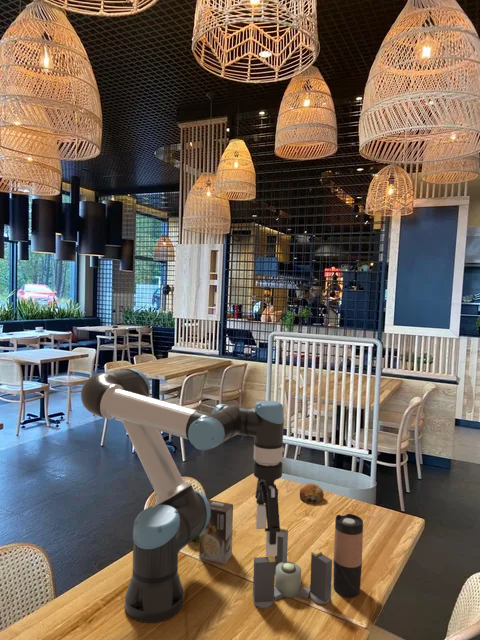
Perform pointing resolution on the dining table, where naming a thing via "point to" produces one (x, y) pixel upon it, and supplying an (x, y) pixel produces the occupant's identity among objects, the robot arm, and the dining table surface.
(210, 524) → the coffee box
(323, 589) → the grey post tan tip
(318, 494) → the bread roll
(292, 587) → the tribrach hub
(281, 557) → the grey block tan end
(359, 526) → the travel mug
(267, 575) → the dark grey upright block
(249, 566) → the dining table surface
